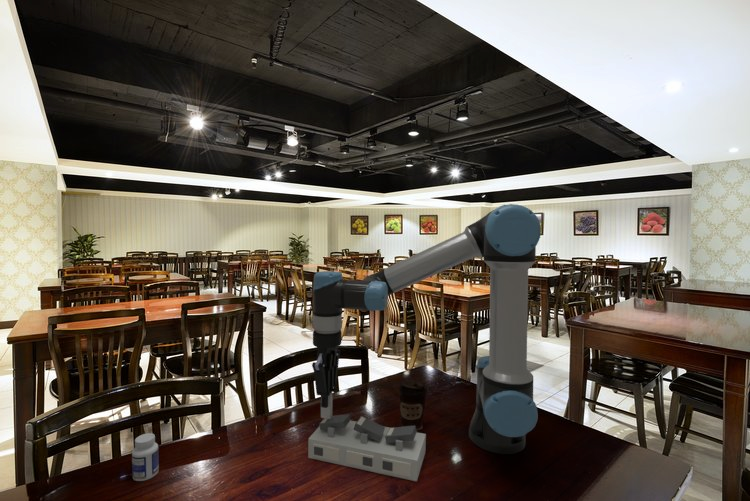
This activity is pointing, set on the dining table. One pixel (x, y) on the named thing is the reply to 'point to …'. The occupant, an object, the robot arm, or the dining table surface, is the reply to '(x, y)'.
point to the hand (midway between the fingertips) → (326, 417)
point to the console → (368, 451)
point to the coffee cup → (412, 403)
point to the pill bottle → (145, 457)
